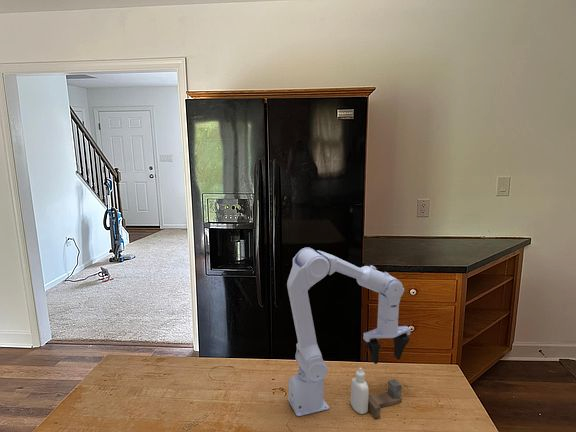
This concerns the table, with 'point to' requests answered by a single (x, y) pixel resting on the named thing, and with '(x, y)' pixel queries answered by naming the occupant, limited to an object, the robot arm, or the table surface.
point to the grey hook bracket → (385, 398)
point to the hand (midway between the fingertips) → (385, 360)
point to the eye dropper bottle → (359, 392)
